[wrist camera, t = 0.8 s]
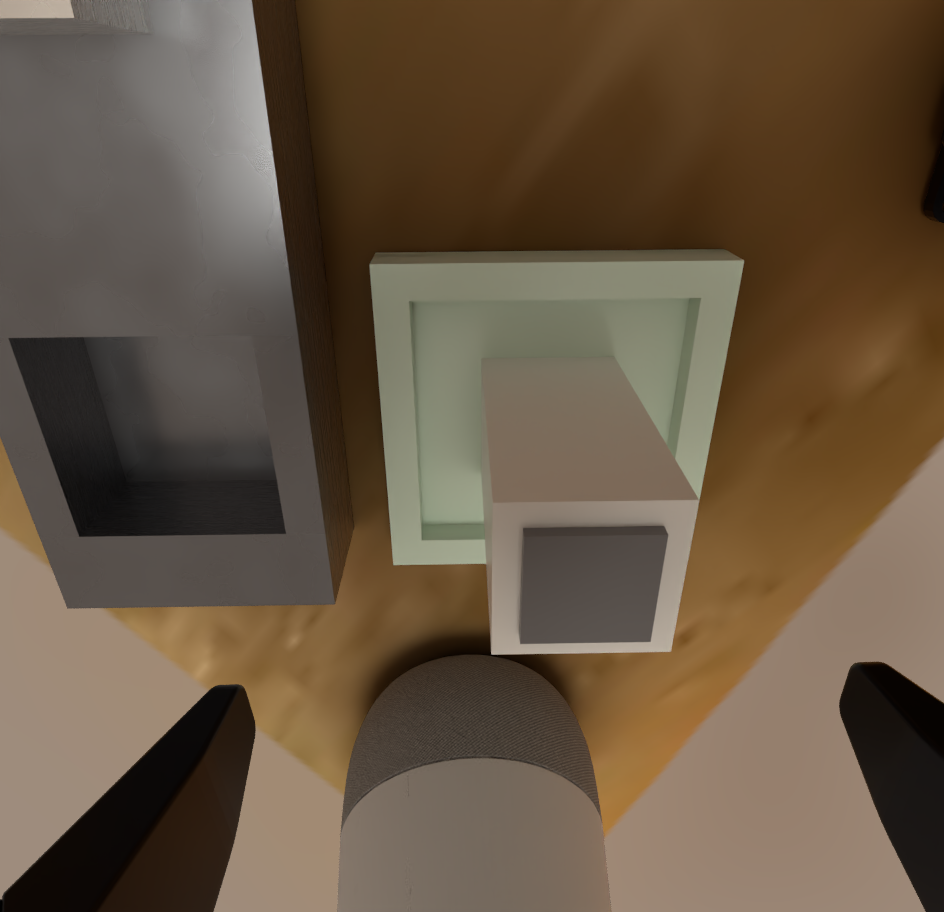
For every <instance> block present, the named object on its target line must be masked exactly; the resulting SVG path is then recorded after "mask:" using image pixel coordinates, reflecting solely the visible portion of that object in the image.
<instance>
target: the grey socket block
mask: <svg viewBox="0 0 944 912" xmlns="http://www.w3.org/2000/svg"><path fill="white" fill-rule="evenodd" d="M0 437H1V440H2V442H3V445H4V447H5V450H6V453H7V455H8V458H9V460H10V463H11V465H12V468H13V470H14V473H15V475H16V478H17V481H18V483H19V486H20V488H21V491H22V493H23V496H24V498H25V501H26V504H27V506H28V509H29V511H30V514H31V516H32V519H33V521H34V524H35V526H36V529H37V532H38V534H39V537H40V539H41V542H42V544H43V547H44V549H45V552H46V555H47V557H48V560H49V562H50V565H51V567H52V570H53V572H54V575H55V578H56V580H57V582H58V585H59V588H60V590H61V593H62V595H63V598H64V600H65V603H66V606H67V608H128V607H194V606H259V605H325V604H335V602H336V598H337V594H338V590H339V586H340V582H341V578H342V574H343V570H344V566H345V562H346V558H347V554H348V550H349V546H350V542H351V538H352V534H353V530H354V524H353V515H352V506H351V498H350V489H349V480H348V471H347V462H346V453H345V444H344V435H343V426H342V417H341V408H340V399H339V390H338V381H337V373H336V364H335V355H334V346H333V337H332V328H331V319H330V310H329V301H328V292H327V283H326V274H325V265H324V256H323V248H322V239H321V230H320V221H319V212H318V203H317V194H316V185H315V176H314V167H313V158H312V149H311V140H310V132H309V123H308V114H307V105H306V96H305V87H304V78H303V69H302V60H301V51H300V42H299V33H298V24H297V15H296V7H295V0H0Z"/></svg>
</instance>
